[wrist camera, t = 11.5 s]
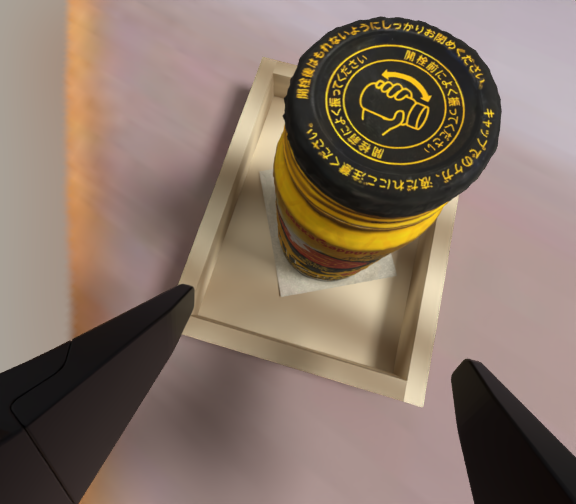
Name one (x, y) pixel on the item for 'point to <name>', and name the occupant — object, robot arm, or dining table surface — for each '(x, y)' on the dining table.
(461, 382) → the robot arm
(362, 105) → the condiment
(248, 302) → the tray
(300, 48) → the dining table surface
